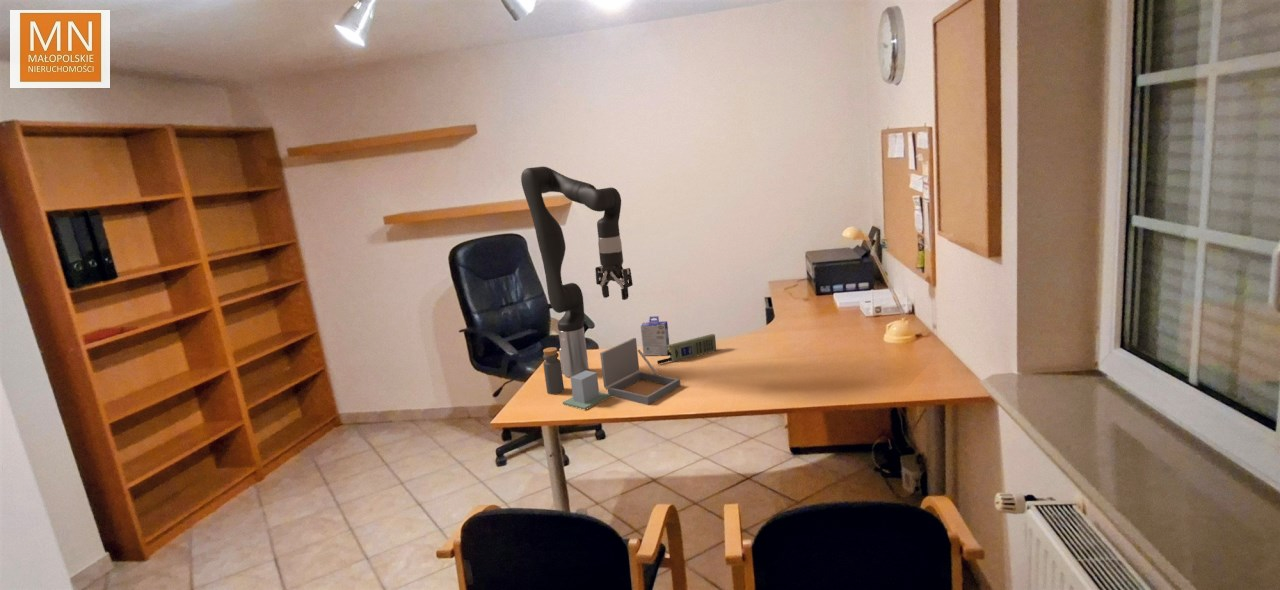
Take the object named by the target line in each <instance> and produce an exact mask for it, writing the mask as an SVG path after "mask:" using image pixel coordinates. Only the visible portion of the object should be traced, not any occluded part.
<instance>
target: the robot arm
mask: <svg viewBox="0 0 1280 590" xmlns="http://www.w3.org/2000/svg"><path fill="white" fill-rule="evenodd" d="M520 179H521V180H520V183H521V186H522V191H523V193H524V197H525V199H526V202H527V205H528V208H529V211H530V214H531V215H530V216H531V219H532V222H533V227H534V230H535V235H536V239H537V244H538V248H539V249H538V250H539V252H540V255H541V260H542V265H543V269H544V270H543V271H544V275H545V280H546V287H547V288H546V289H547V295H548V296H547V297H548V301H549V304H550V306H551V308H552V309H553V310H552V311H555V312H556V313H557V314H560V313H564V314H563V316H562V317H561V318H560V319H559V320H558V321H557V331H558V332H557V333H558V339H559V346H560V348H559V350H558V354H559V358H560V359H559V360H560V362H561V369H562V375H564V376H565V377H566V378H571V377H573V376H575V375H577V374H579V373H581V372H583V371H585V370H586V371H590V368H589V360H588V352H587V342H586V335H585V326H584V320H585V307H584V306H585V305H584V304H585V302H584V296H583V291H582V289H581V287H580V286H579V284H577V283H575V282H570V283H566V284H563V280H562V266H563V262H564V258H565V254H566V241H565V237H564V236H565V235H564V232H563V229H562V226H561V225H560V224H559V222H558V220H556V218H555V217H554V216H553V215H552V214H551V212H550V211H549V210H548V208H547V206H546V204H545V200H544V197H543V194H548V193H551V192H552V193H560V194H563V195H564V196H565V198H567V199H568V200H570V201H572V202H575V203H578V204H581V205H584V206H586V207H587V208H588V209H590V210H591V211H594V212H600V213H601V212H604V213H603V216H602V217H601V218H600V219H598V220H597V222H596V227H597V238H598V242H597V243H598V253H599V264H600V265H599V266H596V267H595V269H594V270H595V281H596V282H595V283H596V285H599V286H600V287H601V293H602V297H603V298H605V299H606V298H607V299H608V297H610V289H609V283H610V282H616V283H617V284H618V285H619V287H620V288H621V289H620V292H621V293H620V294H621V299H622V300H623V301H625V300H628V298H629V297H630V296H629V288H630V287H631V286H632V287H633V278H632V272H631V271H632V270H631V267H627V268H623V263H624V256H623V246H622V239H621V233H620V224H619V221H620V216H621V209H622V208H621V207H622V198H621V194H620V192H619V190H618V189H616V188H615V187H611V186H609V187H604V188H596V186H594V185H593V184H592V183H591V184H590V183H588V182H585V181H582V180H578V179H574V178H571V177H568V176H565V175H564V174H562V173H560V172H557V171H556V170H555V169H552V168H550V167H548V166H536V167H527V168H525V169H523V170H522V172H521V176H520Z"/></svg>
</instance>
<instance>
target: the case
mask: <svg viewBox="0 0 1280 590" xmlns="http://www.w3.org/2000/svg"><path fill="white" fill-rule="evenodd" d="M637 346H638V344H637V338H636V337H633V338H630V339H629V340H627V341H624V342H622V343H619V344H617V345H614V346H612V347H610V348H608V349H606V350H603V351H602V352H600V353H599V355H600V362H601V371H602V381H603V387H604V388H605V390H607V394H610V395H611V397H613V398H618V399H621V398H622V399H621V400H627V401H631V402H635V403H638V404H643V405H647V406H649V405H652V403H655V402H656V401H658V400H659V399H661V398H663V397H664V396H666V395H668V394H670V393H672V392H673V391H675V390H677V389H678V388H680V387H681V379H680V378H675V377H672V376H665V375H660V373H658V372H657V371H656V369H655V368H654V367H653V365H652V364H651V362H650V361H649V360H648V359H647V356H644V355H643V351H641V349H638V347H637ZM638 353H639V354H640V356H641V357H642V359H643V360H644V362H646V364H647V365H648V367H649V368H650V369H651V371H652V372H653V373H651V372H645V371H642V370H640V365H639V355H638ZM640 381H647V382H650V383H651V382H652V383H655V384H661V385H664V386H662V387H660V388H658V389H656V390H654V391H653V392H651V393H650V394H648V395H645V394H640V393H638V392H637V393H635V392H631V391H627V390H625V389H626V388H629V387H631V386H632V385H634V384H636V383H638V382H640Z"/></svg>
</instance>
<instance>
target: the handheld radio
mask: <svg viewBox="0 0 1280 590" xmlns="http://www.w3.org/2000/svg"><path fill="white" fill-rule="evenodd" d="M716 343H717V341H716V334H714V333H711V334H707V335H703V336H698V337H695V338H691V339H686V340H683V341H678V342H675V343H671V344H670V343H669V345H667V346H669V348H667V350H669V352H668V353H667V355H666V356H669V357H668V358H663V359H659V360H657V361H656V362H657V364H658V365H660V364H663V363H667V362H671V361H672V363H676V362H680V361H683V359H684V360H687V359H686V358H688V359H691V358H695V357H698V356H697V355H699V356H702V355H701V354H703V355H706V354H705V353H707V354H709V352H710V353H713V351H714V352H717V344H716ZM694 356H695V357H694ZM690 357H691V358H690ZM679 360H680V361H679ZM675 361H676V362H675Z"/></svg>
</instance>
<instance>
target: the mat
mask: <svg viewBox="0 0 1280 590" xmlns="http://www.w3.org/2000/svg"><path fill="white" fill-rule="evenodd" d="M599 395H600V396H598V397H596V398H594V399H592V400H590V401H589V402H587V403H585V404H584V403H580V402H576V401H573V396H572V397H570V398H568V399H566V400H563V401H562V405H563V404H564V406H567V405H568V406H567V407H571V406H573V407H572V408H574V407H577V408H576V409H578V408H581V409H580V410H582V409H586V410H588V409H590V408H592V407H593V406H592V405H594V406H596V405H598V404H600V403H601V402H603V400H604V401H605V400H607V399H609V398H611V397H612V396H611V395H610V394H608V393H605V392H601V391H599ZM599 402H600V403H599ZM597 403H598V404H597ZM595 404H596V405H595ZM591 406H592V407H591ZM589 407H590V408H589ZM587 408H588V409H587Z"/></svg>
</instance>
